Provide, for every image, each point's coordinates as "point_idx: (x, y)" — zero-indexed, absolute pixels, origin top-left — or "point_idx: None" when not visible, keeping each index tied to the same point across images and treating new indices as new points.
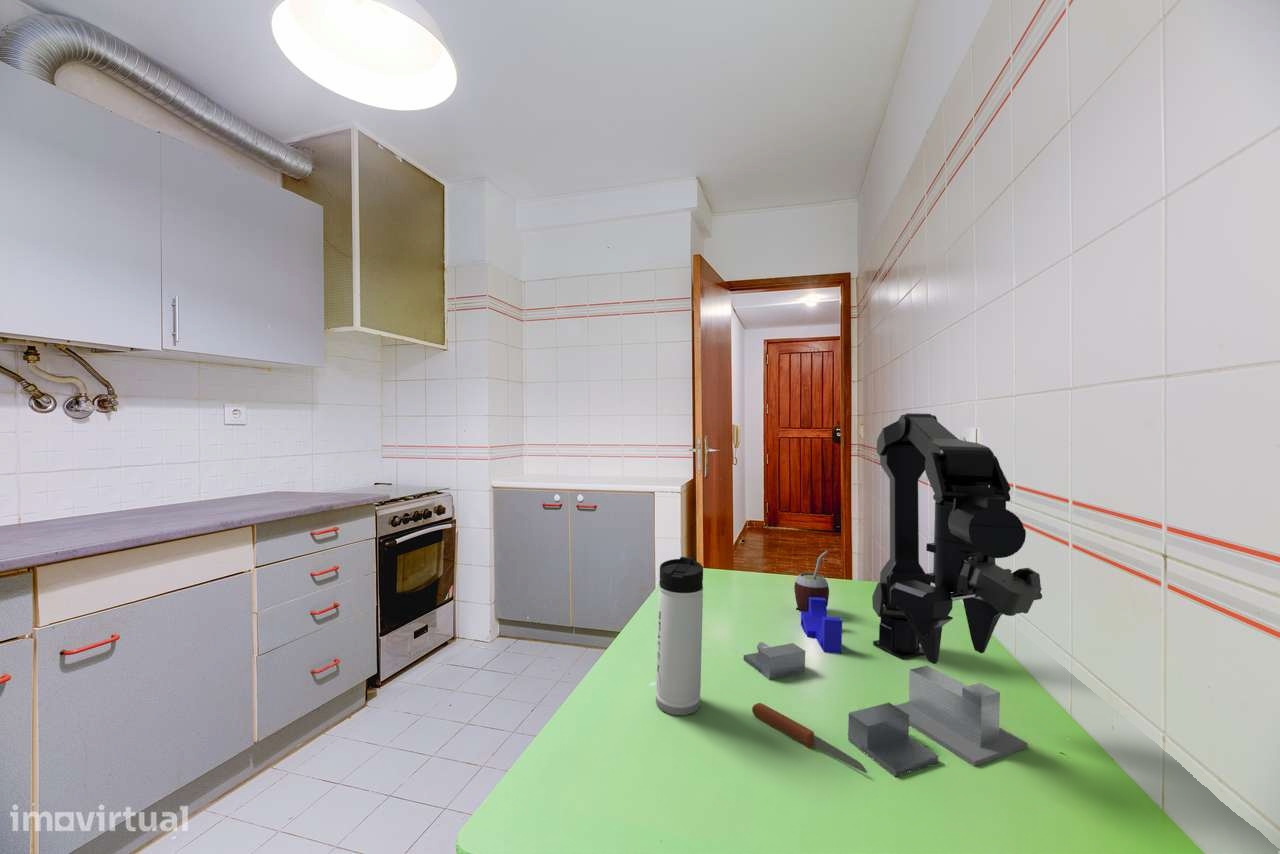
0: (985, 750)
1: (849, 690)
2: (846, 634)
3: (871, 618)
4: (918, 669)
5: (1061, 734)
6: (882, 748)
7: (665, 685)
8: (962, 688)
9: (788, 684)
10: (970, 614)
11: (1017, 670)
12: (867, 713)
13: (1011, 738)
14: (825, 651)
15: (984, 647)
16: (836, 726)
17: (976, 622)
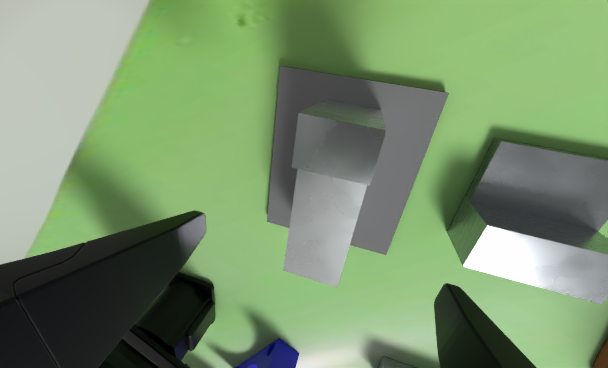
0: (384, 99)
1: (374, 304)
2: (223, 346)
3: None
4: (318, 276)
5: (183, 53)
6: (568, 214)
7: None
8: (369, 184)
9: None
10: (87, 358)
11: (80, 177)
12: (566, 279)
13: (291, 90)
14: (296, 353)
15: (185, 219)
16: (518, 285)
17: (110, 312)
